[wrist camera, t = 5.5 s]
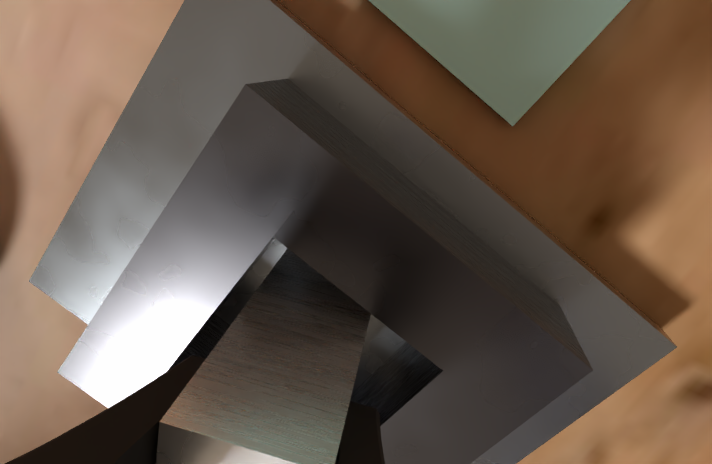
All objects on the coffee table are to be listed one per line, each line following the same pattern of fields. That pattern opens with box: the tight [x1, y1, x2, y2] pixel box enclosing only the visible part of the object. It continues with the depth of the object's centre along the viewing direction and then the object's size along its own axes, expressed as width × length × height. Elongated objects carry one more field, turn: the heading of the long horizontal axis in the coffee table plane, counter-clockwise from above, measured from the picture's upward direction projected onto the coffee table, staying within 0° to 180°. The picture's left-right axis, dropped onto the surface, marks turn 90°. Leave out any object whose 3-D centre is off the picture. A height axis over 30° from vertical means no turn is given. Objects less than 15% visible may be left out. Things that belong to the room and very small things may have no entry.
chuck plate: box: [29, 0, 677, 464], centre depth 14 cm, size 16×12×4 cm
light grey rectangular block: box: [156, 248, 371, 464], centre depth 11 cm, size 3×3×7 cm
